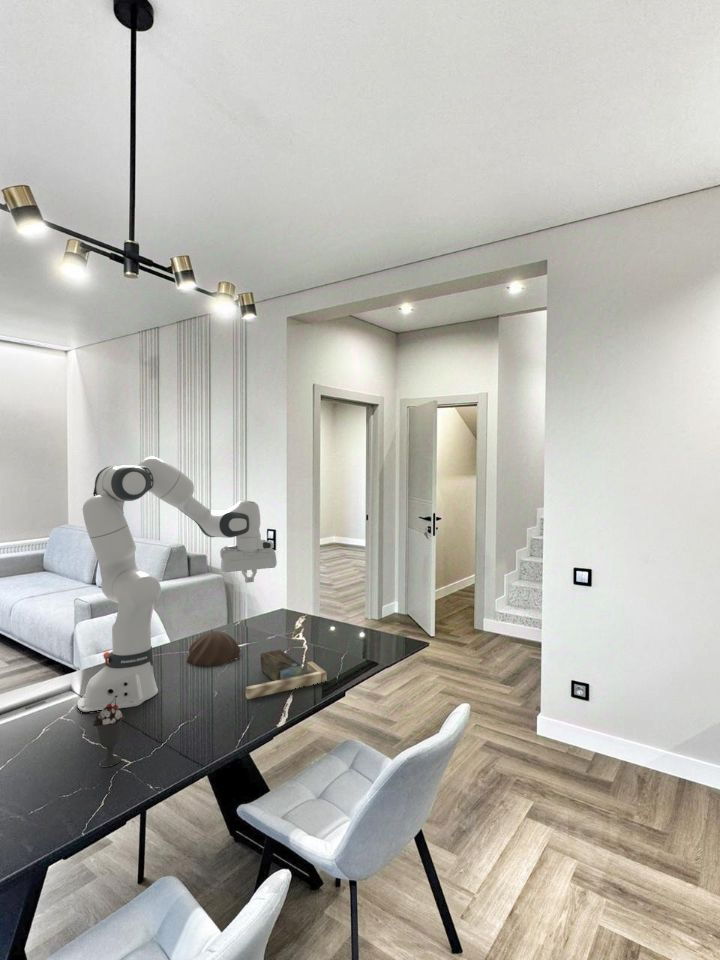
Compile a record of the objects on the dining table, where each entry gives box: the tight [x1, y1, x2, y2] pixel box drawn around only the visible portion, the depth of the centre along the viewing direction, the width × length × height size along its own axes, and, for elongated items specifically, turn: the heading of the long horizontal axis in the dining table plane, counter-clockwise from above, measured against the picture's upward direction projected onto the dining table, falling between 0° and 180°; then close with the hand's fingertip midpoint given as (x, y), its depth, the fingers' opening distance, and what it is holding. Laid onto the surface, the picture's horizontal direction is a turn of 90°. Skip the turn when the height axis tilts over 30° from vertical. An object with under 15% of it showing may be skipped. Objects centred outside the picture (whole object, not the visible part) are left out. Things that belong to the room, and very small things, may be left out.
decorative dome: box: [186, 630, 242, 667], centre depth 197 cm, size 19×20×10 cm
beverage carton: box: [260, 649, 303, 681], centre depth 175 cm, size 8×19×7 cm, turn 30°
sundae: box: [92, 695, 126, 766], centre depth 123 cm, size 7×7×15 cm
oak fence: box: [245, 661, 328, 700], centre depth 168 cm, size 26×12×3 cm, turn 118°
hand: (249, 582), depth 192 cm, fingers closed
